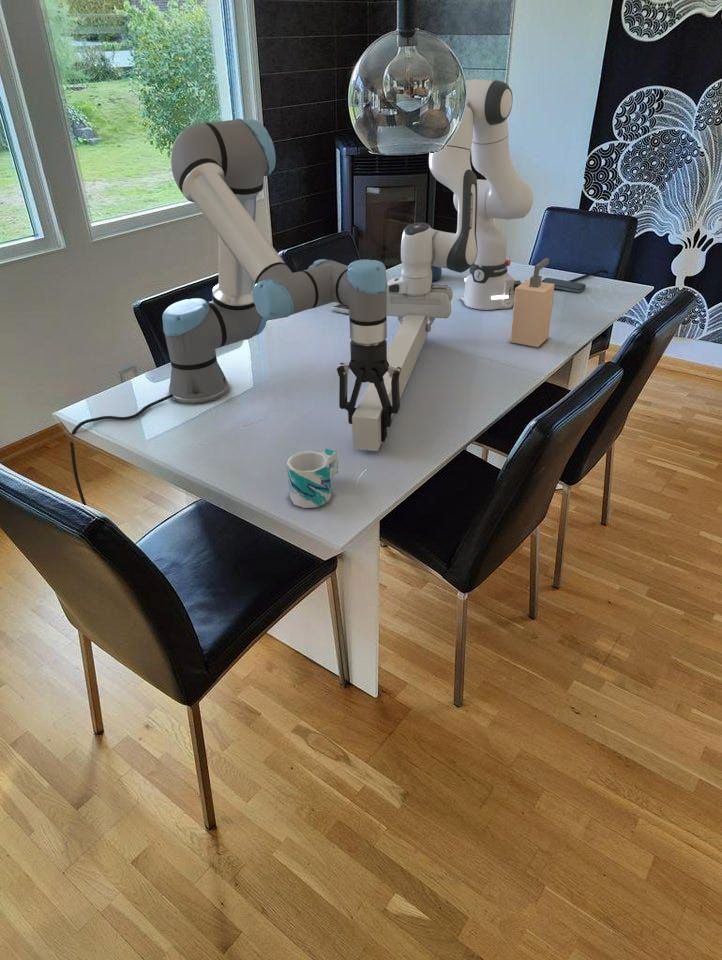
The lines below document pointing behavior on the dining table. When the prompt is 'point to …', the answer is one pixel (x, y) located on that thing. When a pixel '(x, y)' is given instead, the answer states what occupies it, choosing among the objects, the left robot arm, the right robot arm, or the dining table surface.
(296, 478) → the mug
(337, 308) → the smartphone
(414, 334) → the bar
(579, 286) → the smartphone
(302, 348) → the dining table surface
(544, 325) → the soap dispenser
